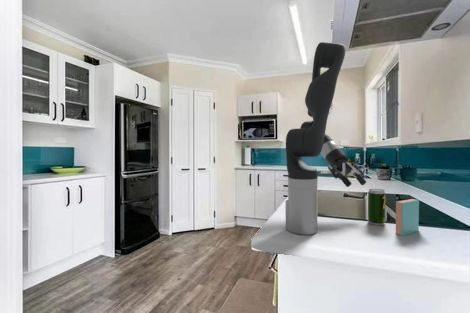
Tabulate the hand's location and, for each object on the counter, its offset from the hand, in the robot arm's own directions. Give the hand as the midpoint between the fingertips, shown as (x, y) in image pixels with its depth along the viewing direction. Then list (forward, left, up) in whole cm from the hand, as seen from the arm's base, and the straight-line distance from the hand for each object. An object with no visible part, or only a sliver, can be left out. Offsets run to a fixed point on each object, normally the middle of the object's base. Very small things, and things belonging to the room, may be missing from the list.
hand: (357, 184), depth 93 cm
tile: (+17, -6, -13) cm, 22 cm away
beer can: (+7, -3, -13) cm, 15 cm away
